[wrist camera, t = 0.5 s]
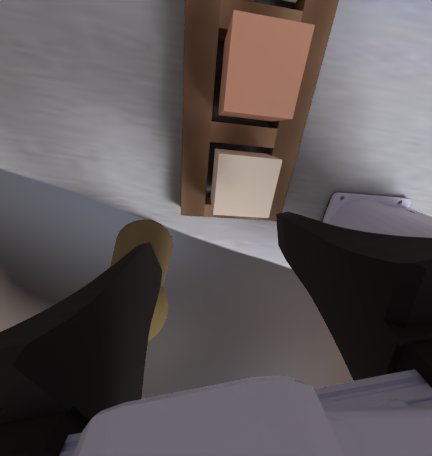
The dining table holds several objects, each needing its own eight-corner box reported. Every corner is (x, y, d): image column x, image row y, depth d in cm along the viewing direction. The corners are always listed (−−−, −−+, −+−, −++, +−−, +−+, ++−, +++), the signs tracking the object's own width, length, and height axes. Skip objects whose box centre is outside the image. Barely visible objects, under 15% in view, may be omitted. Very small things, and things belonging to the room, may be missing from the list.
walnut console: (354, -117, 12) (381, -160, 10) (272, 213, 22) (279, 220, 20) (190, -164, 11) (189, -222, 9) (182, 207, 21) (180, 215, 19)
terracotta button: (285, 51, 14) (315, 24, 11) (271, 121, 16) (292, 119, 13) (224, 40, 14) (233, 9, 10) (217, 114, 16) (223, 110, 12)
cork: (103, 240, 21) (41, 332, 11) (149, 209, 20) (129, 275, 10) (142, 275, 23) (120, 374, 14) (183, 248, 23) (192, 330, 13)
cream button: (265, 153, 17) (282, 159, 14) (255, 201, 19) (268, 218, 16) (214, 148, 17) (219, 153, 13) (210, 198, 19) (213, 214, 15)
